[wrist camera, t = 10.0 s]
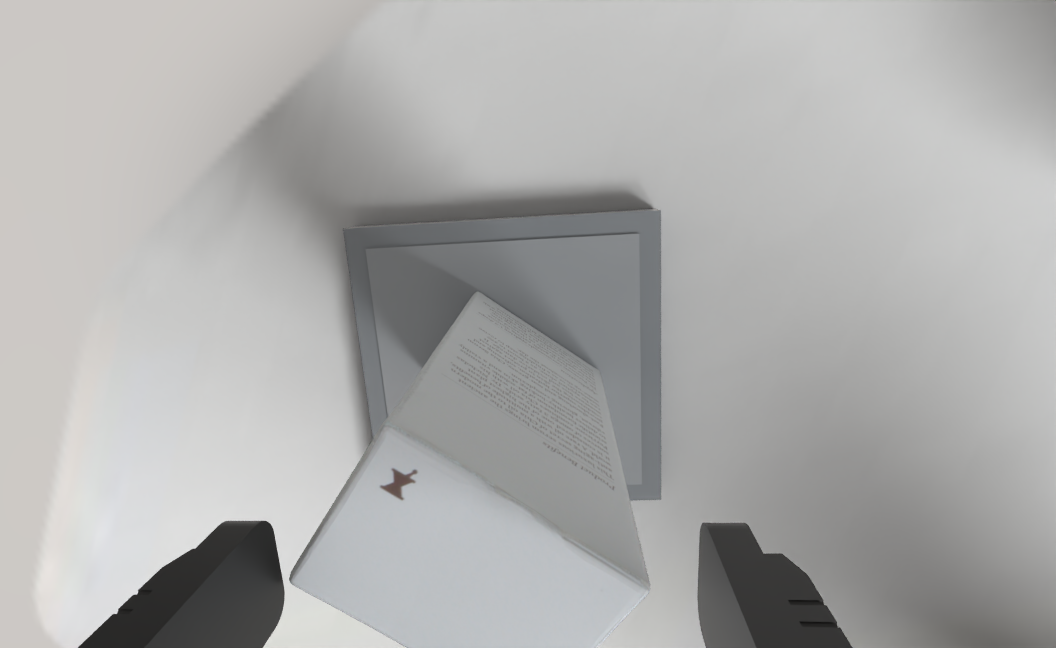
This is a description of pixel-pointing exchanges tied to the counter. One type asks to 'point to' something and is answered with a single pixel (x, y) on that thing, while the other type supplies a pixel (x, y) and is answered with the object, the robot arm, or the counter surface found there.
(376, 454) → the skincare box
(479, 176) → the counter surface
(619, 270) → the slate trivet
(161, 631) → the robot arm
